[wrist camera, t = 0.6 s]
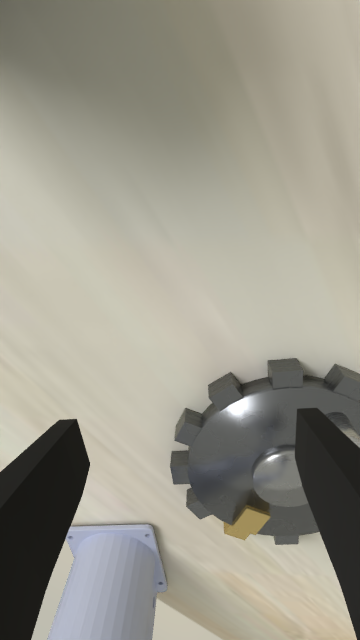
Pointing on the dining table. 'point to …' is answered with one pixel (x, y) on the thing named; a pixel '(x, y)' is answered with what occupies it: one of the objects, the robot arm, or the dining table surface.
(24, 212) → the dining table surface
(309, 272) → the dining table surface
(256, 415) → the sprocket
